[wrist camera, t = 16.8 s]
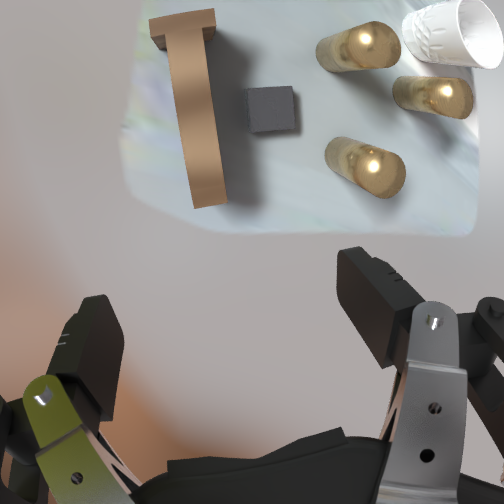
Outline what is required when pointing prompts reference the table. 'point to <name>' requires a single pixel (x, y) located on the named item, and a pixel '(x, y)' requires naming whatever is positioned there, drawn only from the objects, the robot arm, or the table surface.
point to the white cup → (455, 34)
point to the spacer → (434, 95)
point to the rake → (193, 99)
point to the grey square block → (270, 108)
